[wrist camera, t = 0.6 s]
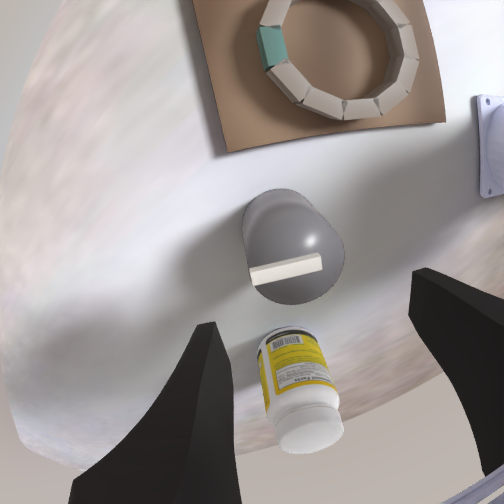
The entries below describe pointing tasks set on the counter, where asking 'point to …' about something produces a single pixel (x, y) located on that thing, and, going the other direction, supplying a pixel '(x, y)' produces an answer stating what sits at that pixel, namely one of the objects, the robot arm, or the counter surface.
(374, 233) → the counter surface
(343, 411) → the counter surface
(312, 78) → the hub plate
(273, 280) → the knob
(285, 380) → the supplement bottle
